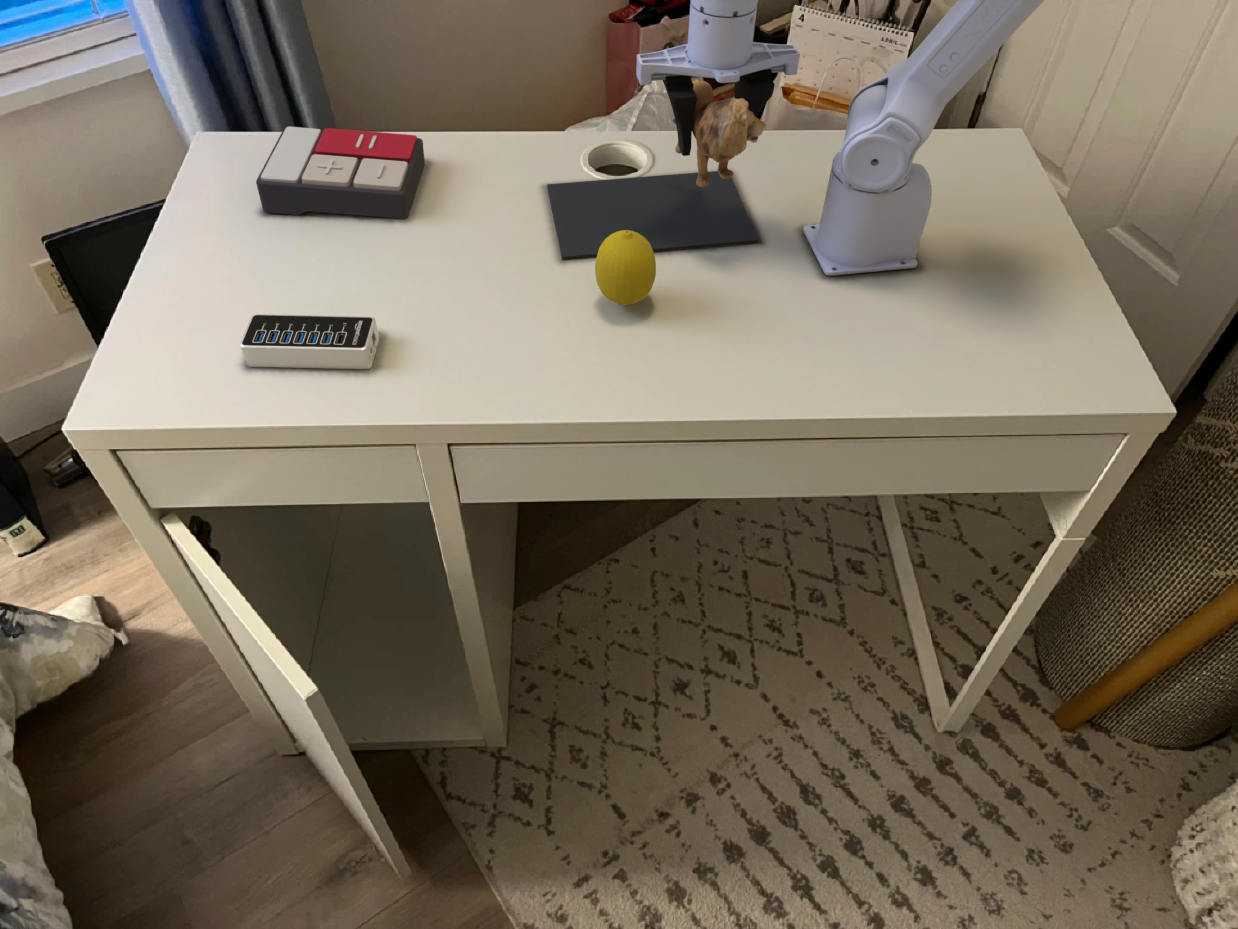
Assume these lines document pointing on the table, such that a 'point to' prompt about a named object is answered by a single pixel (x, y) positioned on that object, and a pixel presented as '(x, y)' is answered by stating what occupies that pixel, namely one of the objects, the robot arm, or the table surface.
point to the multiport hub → (310, 341)
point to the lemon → (625, 267)
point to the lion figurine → (720, 130)
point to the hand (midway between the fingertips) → (709, 148)
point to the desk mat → (649, 213)
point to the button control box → (341, 172)
